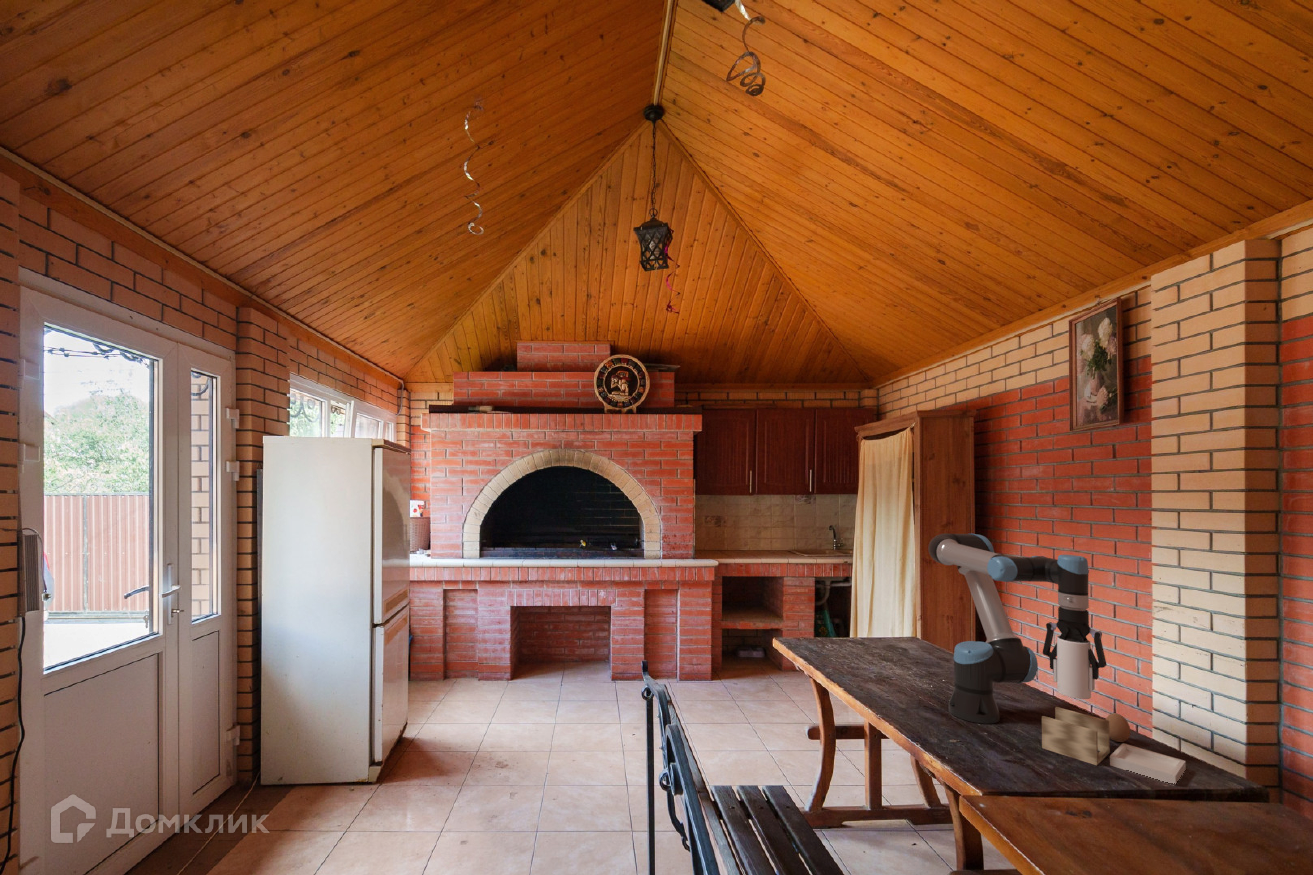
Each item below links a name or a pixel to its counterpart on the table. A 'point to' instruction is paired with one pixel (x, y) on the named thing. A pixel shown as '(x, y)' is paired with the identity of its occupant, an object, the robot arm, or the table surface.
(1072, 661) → the cup
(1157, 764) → the tray
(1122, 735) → the egg
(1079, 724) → the holder
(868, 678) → the table surface
